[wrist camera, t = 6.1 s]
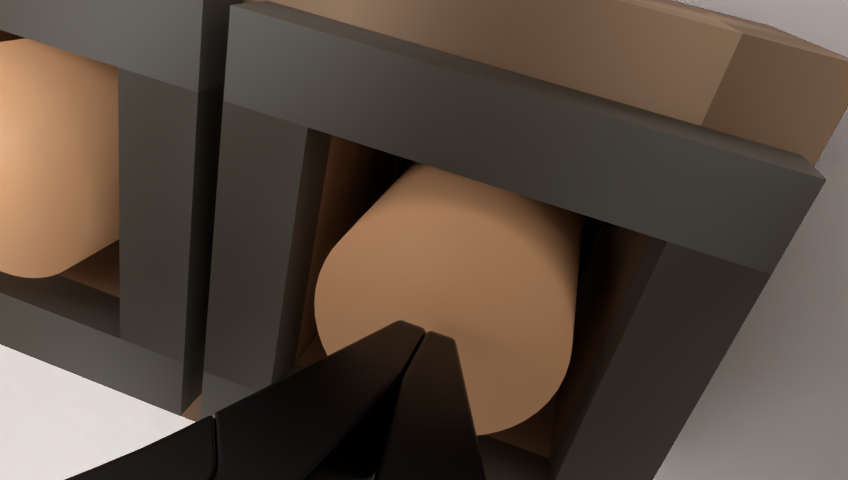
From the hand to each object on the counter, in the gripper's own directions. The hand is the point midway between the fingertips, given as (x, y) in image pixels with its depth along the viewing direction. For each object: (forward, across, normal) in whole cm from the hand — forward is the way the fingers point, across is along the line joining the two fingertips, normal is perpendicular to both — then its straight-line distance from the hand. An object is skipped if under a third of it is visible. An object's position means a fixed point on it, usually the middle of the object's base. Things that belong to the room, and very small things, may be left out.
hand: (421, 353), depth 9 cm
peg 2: (+7, 0, 0) cm, 7 cm away
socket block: (+7, +4, 0) cm, 8 cm away
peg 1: (+7, +8, 0) cm, 10 cm away
